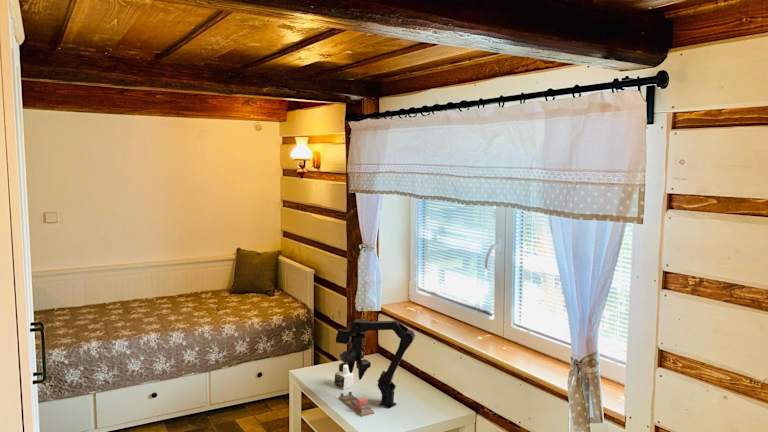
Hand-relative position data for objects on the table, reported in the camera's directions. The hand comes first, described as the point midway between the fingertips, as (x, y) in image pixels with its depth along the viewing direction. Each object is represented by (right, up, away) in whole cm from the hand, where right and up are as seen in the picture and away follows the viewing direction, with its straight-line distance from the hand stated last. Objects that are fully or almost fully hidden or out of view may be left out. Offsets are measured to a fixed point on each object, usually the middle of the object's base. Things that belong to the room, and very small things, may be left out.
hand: (355, 376), depth 275 cm
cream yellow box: (-7, -10, +17) cm, 21 cm away
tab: (+2, -12, -8) cm, 14 cm away
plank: (+1, -13, -6) cm, 14 cm away
